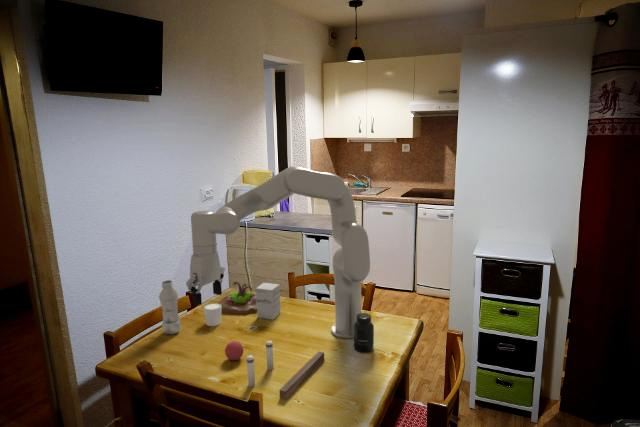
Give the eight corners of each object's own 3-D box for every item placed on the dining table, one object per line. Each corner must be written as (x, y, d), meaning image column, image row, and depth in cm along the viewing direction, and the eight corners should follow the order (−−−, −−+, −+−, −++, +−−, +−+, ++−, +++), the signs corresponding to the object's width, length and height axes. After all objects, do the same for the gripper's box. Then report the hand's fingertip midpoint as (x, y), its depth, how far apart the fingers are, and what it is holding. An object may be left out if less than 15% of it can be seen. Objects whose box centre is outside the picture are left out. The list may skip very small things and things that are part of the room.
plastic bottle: (176, 337, 163) (171, 285, 159) (159, 335, 165) (154, 284, 161) (184, 329, 169) (180, 279, 166) (168, 328, 171) (163, 278, 167)
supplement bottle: (360, 355, 146) (360, 321, 144) (349, 347, 152) (349, 314, 150) (377, 350, 150) (377, 317, 147) (366, 342, 156) (366, 310, 153)
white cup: (226, 321, 175) (225, 305, 174) (213, 328, 170) (212, 311, 168) (214, 318, 179) (212, 301, 178) (201, 324, 173) (199, 307, 172)
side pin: (256, 383, 132) (255, 356, 130) (252, 387, 130) (250, 359, 128) (251, 382, 133) (249, 354, 131) (246, 385, 131) (245, 357, 129)
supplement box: (256, 318, 178) (255, 288, 176) (265, 310, 185) (263, 281, 182) (273, 320, 175) (271, 289, 173) (281, 312, 182) (280, 283, 180)
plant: (225, 297, 202) (223, 274, 200) (267, 297, 200) (266, 273, 198) (212, 316, 182) (210, 290, 180) (259, 316, 181) (257, 290, 179)
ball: (247, 356, 148) (246, 340, 146) (236, 365, 142) (235, 348, 141) (233, 353, 150) (232, 336, 149) (221, 361, 145) (220, 344, 144)
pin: (275, 367, 140) (273, 341, 139) (271, 370, 139) (270, 344, 137) (269, 366, 141) (268, 340, 140) (265, 369, 140) (264, 342, 138)
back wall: (324, 359, 145) (324, 352, 144) (285, 399, 124) (285, 391, 123) (318, 358, 146) (318, 351, 145) (279, 397, 125) (279, 389, 124)
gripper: (213, 241, 153) (216, 289, 156) (176, 254, 138) (180, 306, 141) (231, 244, 150) (233, 292, 153) (194, 257, 135) (198, 310, 138)
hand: (207, 299), depth 147 cm, fingers open, 9 cm apart
